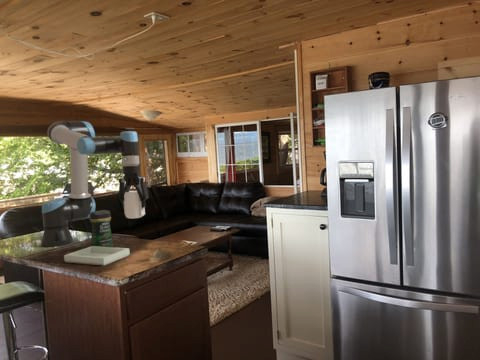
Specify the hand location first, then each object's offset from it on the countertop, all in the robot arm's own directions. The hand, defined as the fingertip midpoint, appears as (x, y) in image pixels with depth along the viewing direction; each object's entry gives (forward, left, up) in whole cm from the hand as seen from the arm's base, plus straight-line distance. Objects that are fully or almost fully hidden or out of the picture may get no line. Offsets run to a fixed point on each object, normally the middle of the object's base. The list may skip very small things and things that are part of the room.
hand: (134, 214), depth 179 cm
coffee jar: (-22, +1, -17) cm, 28 cm away
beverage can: (0, 0, -1) cm, 1 cm away
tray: (-10, -15, -17) cm, 25 cm away
